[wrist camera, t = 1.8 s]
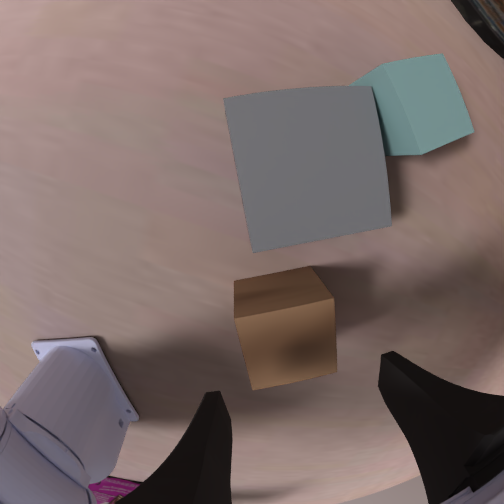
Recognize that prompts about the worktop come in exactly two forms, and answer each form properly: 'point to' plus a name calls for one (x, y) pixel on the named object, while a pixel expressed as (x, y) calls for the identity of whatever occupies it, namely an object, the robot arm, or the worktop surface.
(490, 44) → the beer stein
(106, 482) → the candy bar box
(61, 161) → the worktop surface
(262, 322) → the walnut cube
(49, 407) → the robot arm
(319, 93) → the base block
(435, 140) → the teal cube
